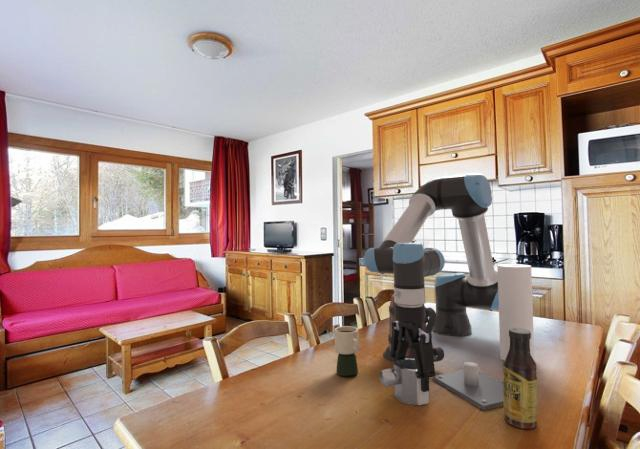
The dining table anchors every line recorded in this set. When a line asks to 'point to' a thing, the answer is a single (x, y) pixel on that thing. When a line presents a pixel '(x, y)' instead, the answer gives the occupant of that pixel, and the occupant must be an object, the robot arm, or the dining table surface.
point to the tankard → (437, 352)
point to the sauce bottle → (520, 381)
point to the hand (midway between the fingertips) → (412, 395)
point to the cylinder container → (514, 303)
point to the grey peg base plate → (474, 386)
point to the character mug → (346, 349)
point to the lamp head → (402, 380)
